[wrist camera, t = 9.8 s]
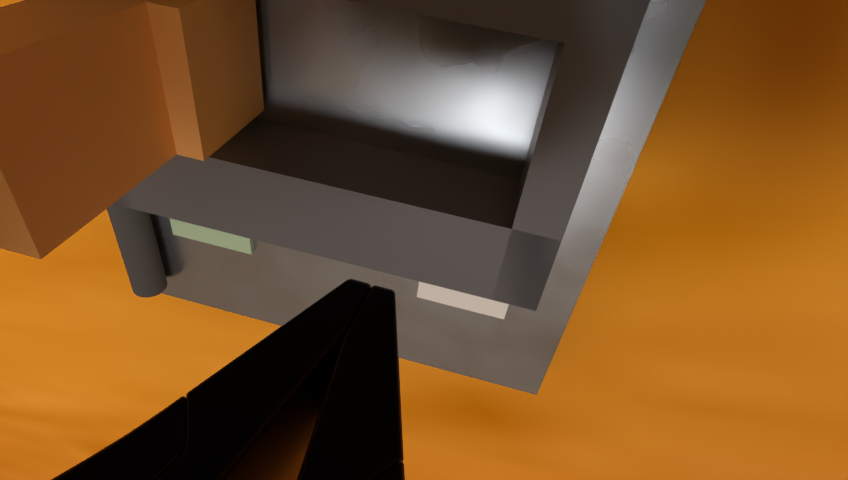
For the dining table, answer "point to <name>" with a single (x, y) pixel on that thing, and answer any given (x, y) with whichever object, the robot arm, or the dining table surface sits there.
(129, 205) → the box
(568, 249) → the panel
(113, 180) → the toggle
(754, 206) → the dining table surface
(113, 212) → the grey flat frame
